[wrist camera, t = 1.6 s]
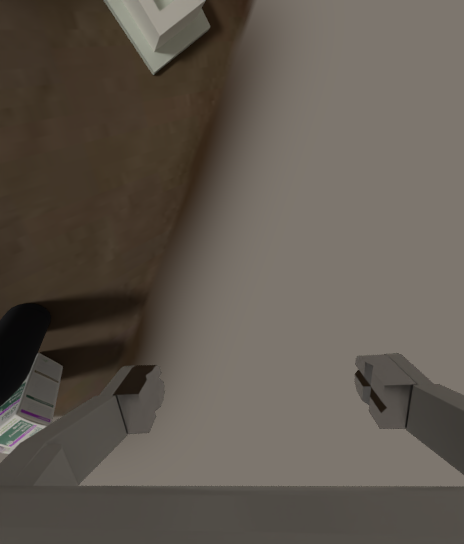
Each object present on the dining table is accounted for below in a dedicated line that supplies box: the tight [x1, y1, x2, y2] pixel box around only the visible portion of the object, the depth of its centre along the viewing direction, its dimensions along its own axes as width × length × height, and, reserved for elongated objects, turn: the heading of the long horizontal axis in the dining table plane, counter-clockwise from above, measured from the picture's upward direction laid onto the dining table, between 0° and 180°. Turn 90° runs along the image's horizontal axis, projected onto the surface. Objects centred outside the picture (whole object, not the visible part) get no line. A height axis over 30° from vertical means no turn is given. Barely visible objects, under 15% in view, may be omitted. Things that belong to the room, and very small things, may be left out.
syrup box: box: [0, 353, 63, 454], centre depth 37 cm, size 6×6×14 cm
